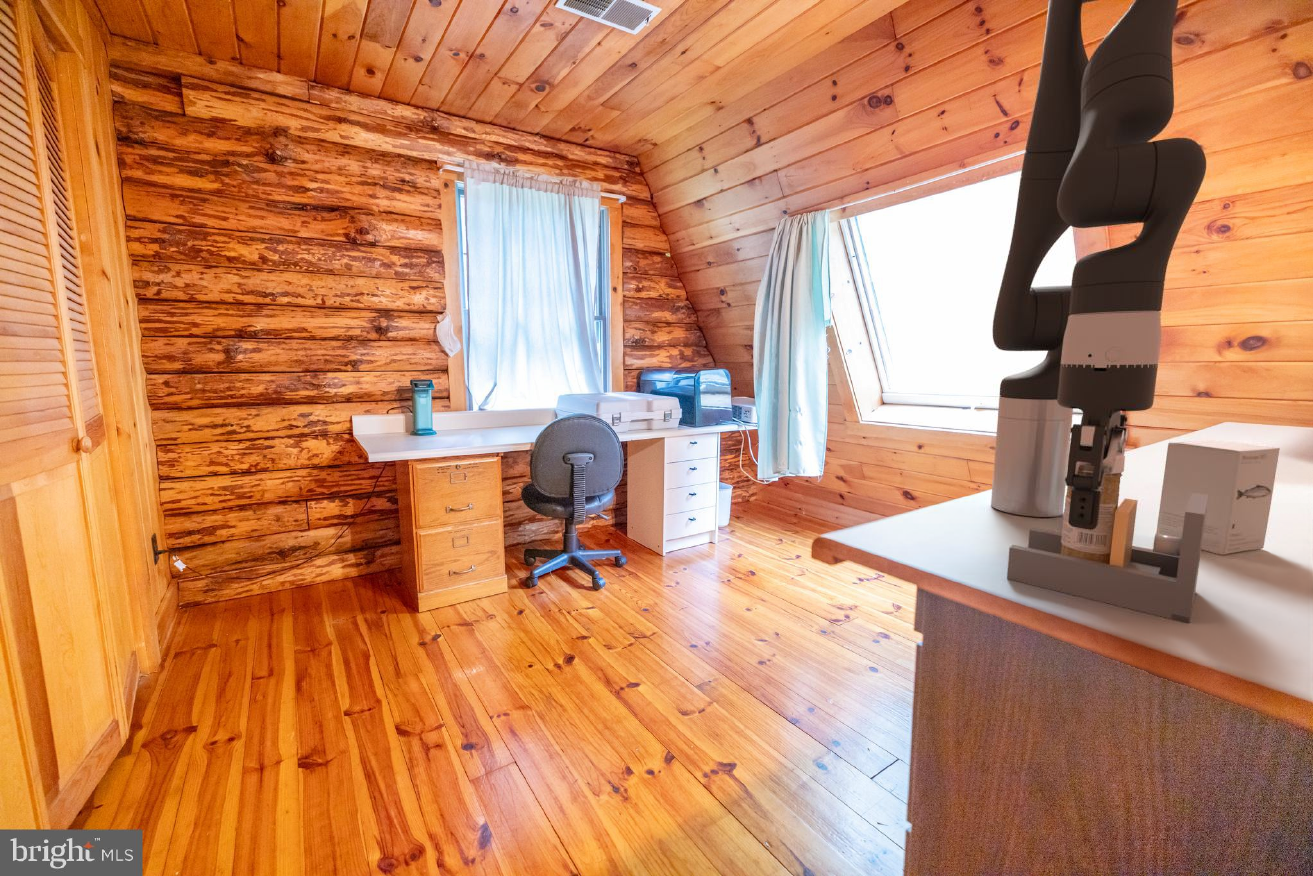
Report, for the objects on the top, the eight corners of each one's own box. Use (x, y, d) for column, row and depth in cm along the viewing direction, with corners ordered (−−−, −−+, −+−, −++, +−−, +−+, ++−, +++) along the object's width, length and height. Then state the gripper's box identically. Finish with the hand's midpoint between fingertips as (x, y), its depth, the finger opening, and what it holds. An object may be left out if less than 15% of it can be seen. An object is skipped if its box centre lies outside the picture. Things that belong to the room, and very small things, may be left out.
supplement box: (1224, 556, 65) (1239, 450, 63) (1153, 537, 72) (1165, 441, 70) (1267, 550, 67) (1283, 446, 65) (1193, 531, 74) (1206, 438, 72)
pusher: (1116, 571, 59) (1125, 498, 58) (1159, 580, 56) (1169, 504, 55) (1106, 589, 55) (1115, 510, 53) (1152, 600, 52) (1162, 518, 51)
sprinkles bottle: (1114, 576, 58) (1128, 450, 56) (1107, 589, 55) (1122, 456, 53) (1061, 565, 62) (1073, 445, 60) (1052, 576, 58) (1064, 451, 56)
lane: (1029, 555, 66) (1037, 473, 64) (1195, 591, 56) (1208, 494, 54) (1006, 578, 59) (1014, 487, 58) (1189, 623, 49) (1204, 514, 48)
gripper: (1076, 359, 62) (1062, 498, 65) (1045, 362, 53) (1029, 526, 55) (1165, 359, 57) (1146, 511, 60) (1149, 362, 47) (1127, 543, 50)
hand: (1090, 518), depth 57 cm, fingers open, 8 cm apart
